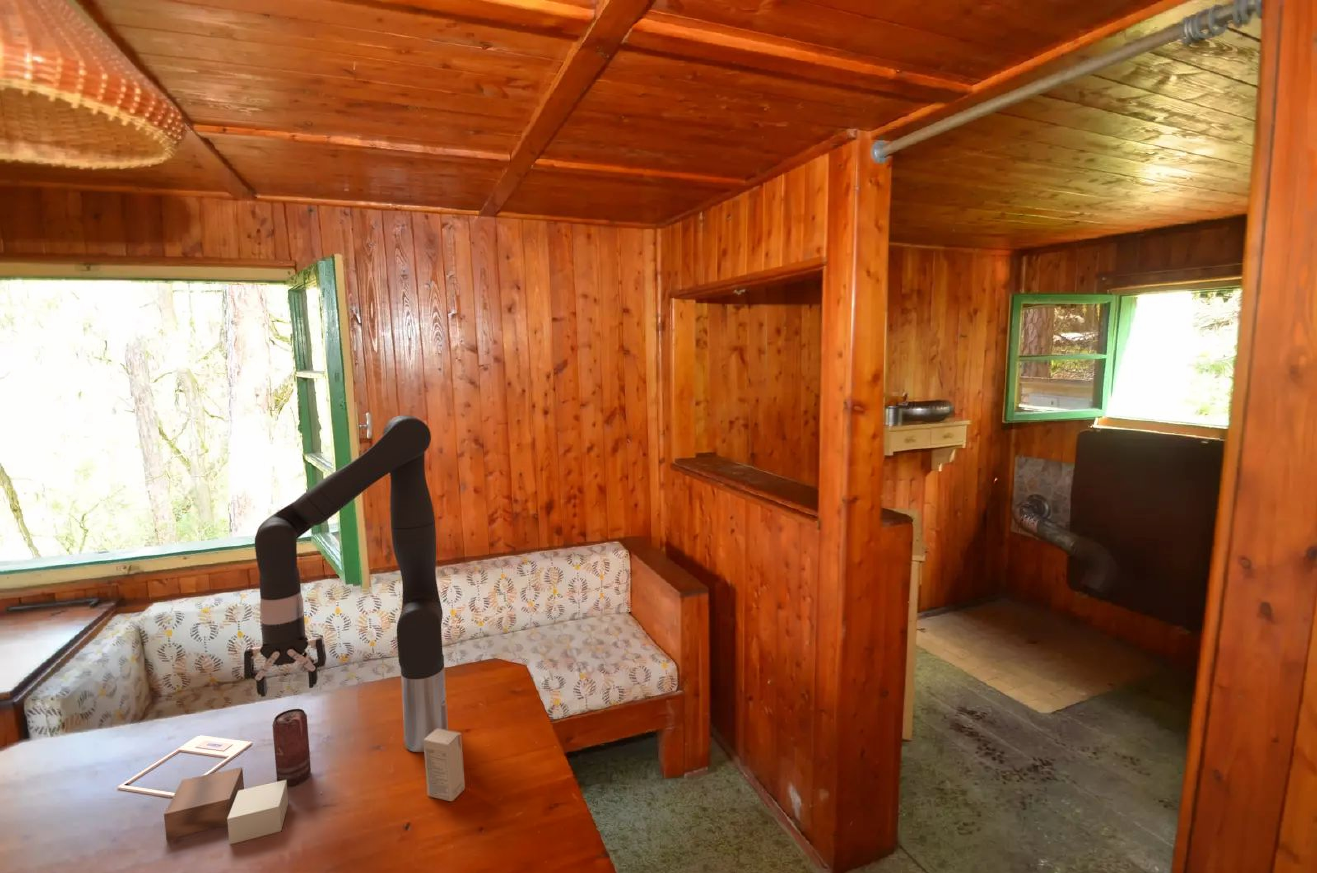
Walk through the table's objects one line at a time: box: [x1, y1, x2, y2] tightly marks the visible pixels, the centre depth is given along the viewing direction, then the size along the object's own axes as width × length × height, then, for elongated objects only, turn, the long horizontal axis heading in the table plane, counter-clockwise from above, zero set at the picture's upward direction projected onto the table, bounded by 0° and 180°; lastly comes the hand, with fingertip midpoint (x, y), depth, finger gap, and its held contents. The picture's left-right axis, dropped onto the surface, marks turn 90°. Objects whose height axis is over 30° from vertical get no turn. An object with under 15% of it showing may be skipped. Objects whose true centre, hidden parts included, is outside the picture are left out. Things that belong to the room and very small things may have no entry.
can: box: [271, 708, 312, 788], centre depth 126 cm, size 6×6×14 cm
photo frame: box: [117, 734, 253, 799], centre depth 132 cm, size 15×1×18 cm
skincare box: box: [423, 728, 466, 802], centre depth 122 cm, size 6×4×12 cm
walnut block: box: [163, 766, 245, 840], centre depth 117 cm, size 10×10×5 cm
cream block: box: [227, 780, 289, 845], centre depth 114 cm, size 8×8×5 cm
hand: (288, 690), depth 125 cm, fingers open, 8 cm apart
